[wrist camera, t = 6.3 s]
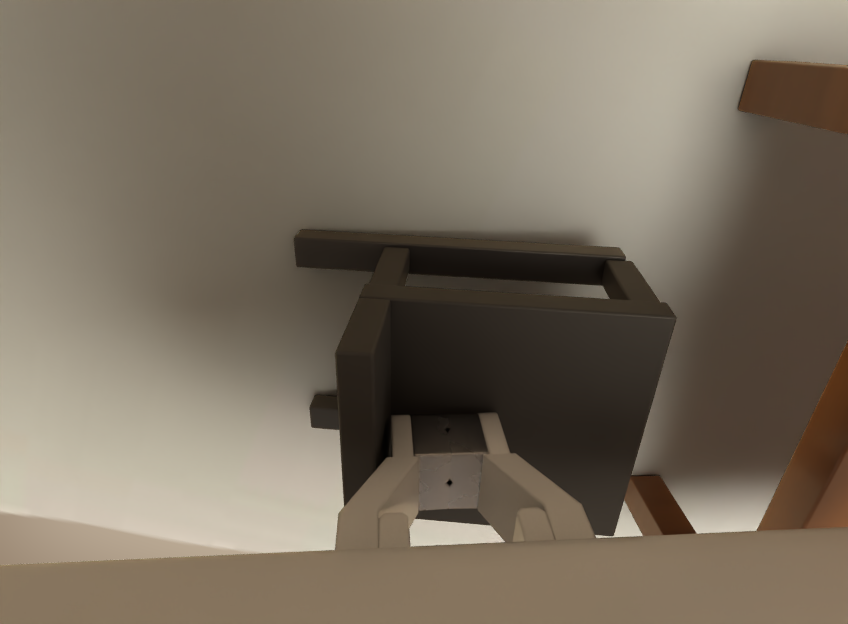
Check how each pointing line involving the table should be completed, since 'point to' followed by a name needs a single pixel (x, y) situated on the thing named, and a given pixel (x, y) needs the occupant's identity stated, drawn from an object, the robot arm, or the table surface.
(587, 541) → the robot arm
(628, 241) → the table surface
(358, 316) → the chair
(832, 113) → the side table
